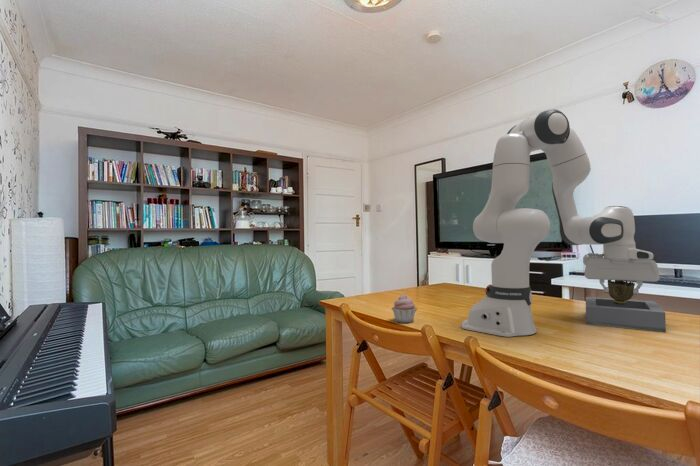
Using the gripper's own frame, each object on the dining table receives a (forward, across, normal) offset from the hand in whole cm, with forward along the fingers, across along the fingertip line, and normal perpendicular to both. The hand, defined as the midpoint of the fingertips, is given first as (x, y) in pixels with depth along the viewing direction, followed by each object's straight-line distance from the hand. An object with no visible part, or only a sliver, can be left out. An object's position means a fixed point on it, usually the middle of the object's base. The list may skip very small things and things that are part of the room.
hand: (620, 293), depth 119 cm
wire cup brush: (+4, 0, +1) cm, 4 cm away
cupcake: (+9, -65, -35) cm, 75 cm away
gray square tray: (+10, 0, 0) cm, 10 cm away
